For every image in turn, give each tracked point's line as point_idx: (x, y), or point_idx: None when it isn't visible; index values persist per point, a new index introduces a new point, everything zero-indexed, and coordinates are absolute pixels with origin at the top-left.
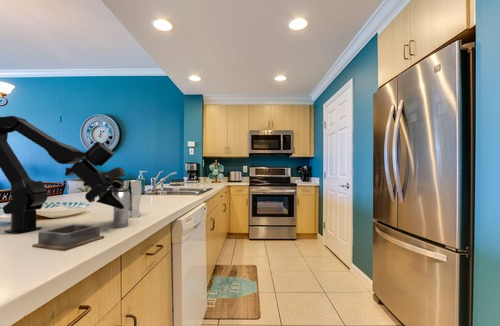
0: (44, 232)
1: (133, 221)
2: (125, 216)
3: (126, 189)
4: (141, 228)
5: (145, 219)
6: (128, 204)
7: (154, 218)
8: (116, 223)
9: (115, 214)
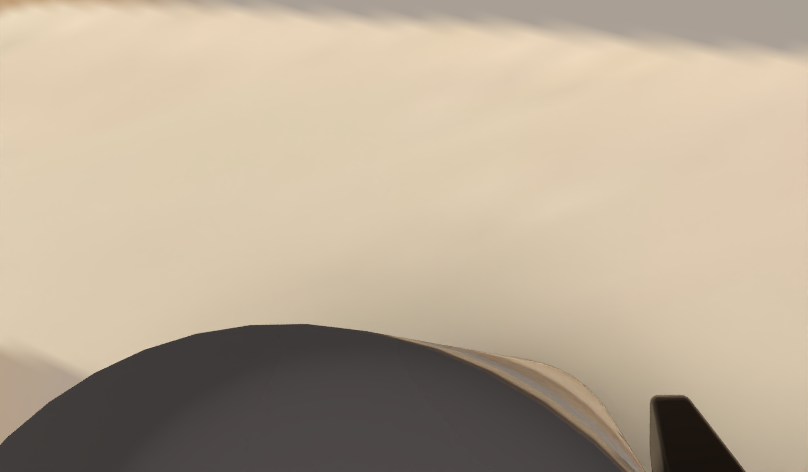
0: None
1: None
2: (570, 379)
3: (490, 370)
4: (717, 87)
5: (100, 225)
6: None
7: (64, 110)
8: None
9: None
